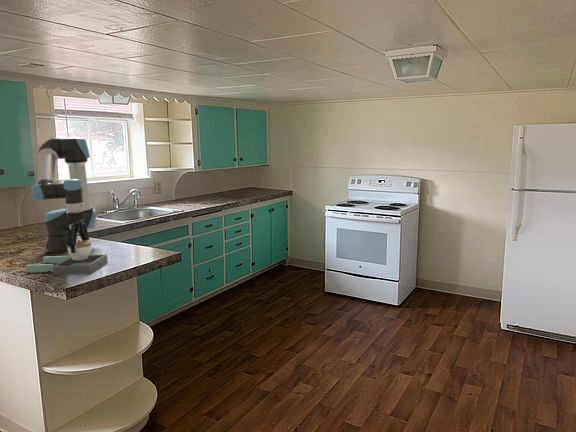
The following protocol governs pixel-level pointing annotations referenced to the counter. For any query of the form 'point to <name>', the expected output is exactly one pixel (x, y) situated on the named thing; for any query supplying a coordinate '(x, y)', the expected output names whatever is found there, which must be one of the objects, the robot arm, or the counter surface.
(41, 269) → the rail holder
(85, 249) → the white round bowl
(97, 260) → the tray
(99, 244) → the counter surface
